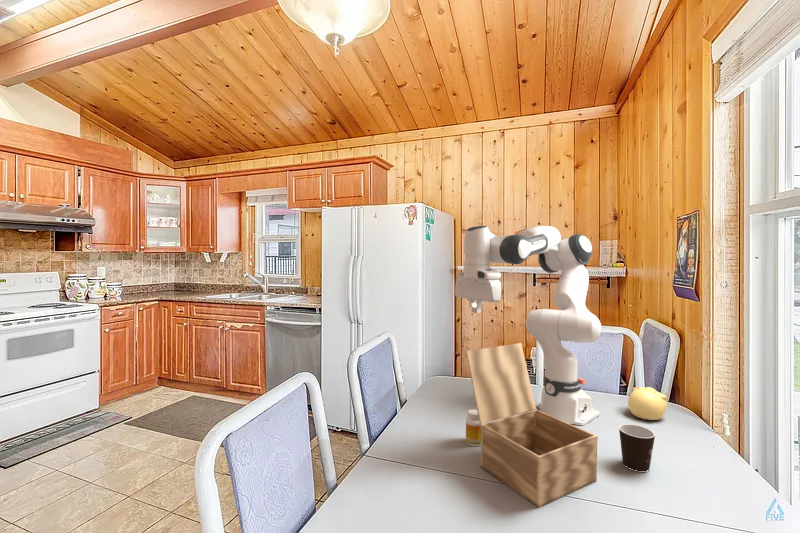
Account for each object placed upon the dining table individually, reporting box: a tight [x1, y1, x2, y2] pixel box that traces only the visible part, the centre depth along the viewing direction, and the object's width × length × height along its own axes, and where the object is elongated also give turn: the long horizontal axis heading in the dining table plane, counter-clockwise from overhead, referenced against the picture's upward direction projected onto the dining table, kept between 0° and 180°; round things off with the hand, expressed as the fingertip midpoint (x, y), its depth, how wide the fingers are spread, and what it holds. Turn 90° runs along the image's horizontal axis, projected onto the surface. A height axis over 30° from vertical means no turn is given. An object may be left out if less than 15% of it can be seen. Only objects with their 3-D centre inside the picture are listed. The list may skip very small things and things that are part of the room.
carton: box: [480, 409, 599, 509], centre depth 105 cm, size 22×20×12 cm
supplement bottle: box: [465, 409, 482, 447], centre depth 122 cm, size 5×5×10 cm
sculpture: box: [627, 386, 668, 421], centre depth 142 cm, size 12×12×11 cm
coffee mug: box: [618, 423, 656, 471], centre depth 110 cm, size 12×9×10 cm
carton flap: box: [465, 342, 537, 424], centre depth 116 cm, size 22×20×1 cm
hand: (476, 312), depth 134 cm, fingers closed
